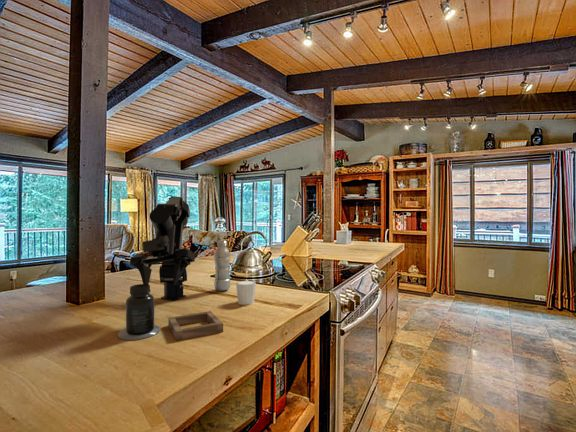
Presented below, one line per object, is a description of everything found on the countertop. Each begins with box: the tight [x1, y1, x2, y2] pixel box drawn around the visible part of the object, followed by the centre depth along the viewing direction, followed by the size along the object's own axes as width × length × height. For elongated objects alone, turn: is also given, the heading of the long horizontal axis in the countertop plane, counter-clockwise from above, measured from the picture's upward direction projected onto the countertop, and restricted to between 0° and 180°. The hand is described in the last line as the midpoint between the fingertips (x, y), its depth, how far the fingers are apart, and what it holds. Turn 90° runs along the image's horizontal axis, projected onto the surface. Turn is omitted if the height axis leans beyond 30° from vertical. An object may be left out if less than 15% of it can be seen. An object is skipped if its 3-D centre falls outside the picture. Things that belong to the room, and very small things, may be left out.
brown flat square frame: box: [167, 310, 224, 342], centre depth 87 cm, size 12×12×2 cm
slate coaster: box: [117, 324, 161, 341], centre depth 84 cm, size 10×10×1 cm
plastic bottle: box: [213, 240, 232, 292], centre depth 128 cm, size 6×7×20 cm
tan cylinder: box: [235, 280, 257, 306], centre depth 111 cm, size 7×7×7 cm
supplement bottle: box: [125, 283, 155, 335], centre depth 84 cm, size 7×7×12 cm
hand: (160, 285), depth 94 cm, fingers open, 9 cm apart
